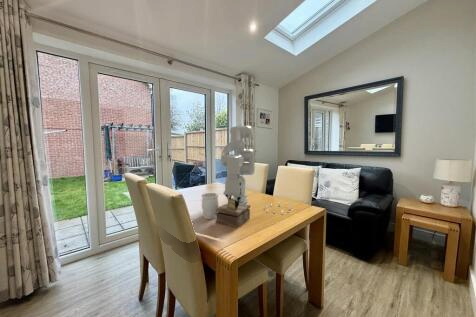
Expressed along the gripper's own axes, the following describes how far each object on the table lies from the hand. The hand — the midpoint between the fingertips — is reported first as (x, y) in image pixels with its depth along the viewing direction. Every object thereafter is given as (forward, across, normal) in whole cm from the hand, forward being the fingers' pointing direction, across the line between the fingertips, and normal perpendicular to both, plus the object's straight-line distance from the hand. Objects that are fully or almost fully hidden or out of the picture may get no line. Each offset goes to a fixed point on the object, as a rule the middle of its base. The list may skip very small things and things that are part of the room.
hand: (233, 205), depth 129 cm
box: (+10, 0, 0) cm, 10 cm away
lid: (+2, 0, 0) cm, 2 cm away
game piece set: (+11, -15, -34) cm, 39 cm away
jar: (+10, +17, +2) cm, 20 cm away
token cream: (+9, +2, -3) cm, 10 cm away
